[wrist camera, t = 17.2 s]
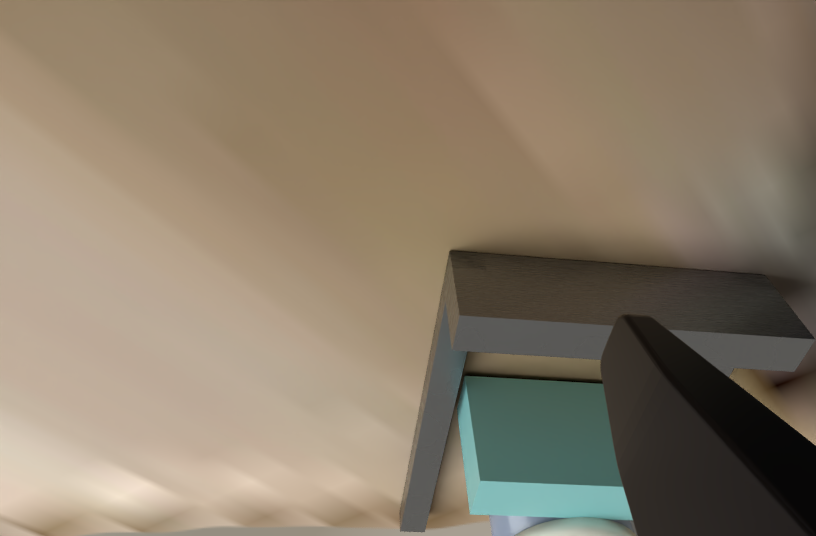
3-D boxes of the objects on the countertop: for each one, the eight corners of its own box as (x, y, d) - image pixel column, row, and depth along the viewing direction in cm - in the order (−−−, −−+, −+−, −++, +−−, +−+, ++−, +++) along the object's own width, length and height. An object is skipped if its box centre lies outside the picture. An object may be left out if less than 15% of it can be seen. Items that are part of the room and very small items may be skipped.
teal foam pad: (464, 375, 27) (480, 480, 23) (670, 388, 28) (720, 491, 24) (456, 409, 28) (470, 514, 24) (654, 419, 29) (699, 522, 25)
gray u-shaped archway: (449, 250, 23) (459, 315, 20) (764, 275, 24) (815, 339, 22) (399, 512, 33) (401, 581, 30) (628, 521, 34) (651, 588, 31)
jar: (573, 507, 32) (604, 621, 28) (462, 490, 31) (475, 607, 26) (631, 432, 29) (676, 548, 24) (508, 409, 27) (532, 527, 23)
